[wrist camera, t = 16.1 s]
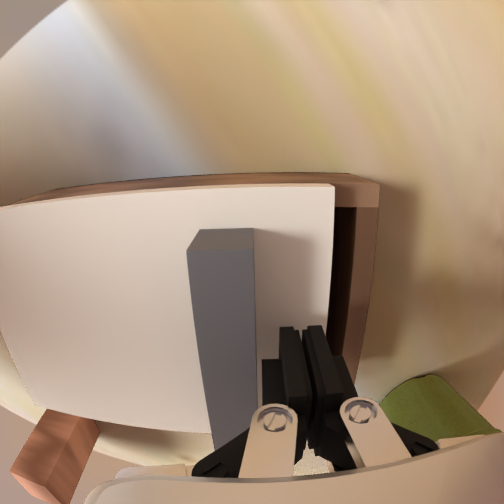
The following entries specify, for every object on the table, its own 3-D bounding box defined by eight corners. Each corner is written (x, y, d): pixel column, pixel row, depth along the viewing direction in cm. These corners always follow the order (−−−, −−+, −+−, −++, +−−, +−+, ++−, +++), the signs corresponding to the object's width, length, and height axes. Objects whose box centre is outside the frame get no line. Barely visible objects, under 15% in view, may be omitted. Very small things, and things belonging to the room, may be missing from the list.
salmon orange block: (68, 425, 25) (32, 495, 16) (53, 398, 24) (9, 471, 14) (100, 432, 25) (67, 509, 15) (86, 405, 24) (44, 486, 14)
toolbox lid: (41, 396, 17) (18, 428, 13) (-20, 210, 12) (-63, 227, 9) (310, 418, 16) (318, 465, 13) (328, 183, 12) (355, 198, 9)
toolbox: (94, 357, 22) (67, 399, 17) (56, 189, 17) (8, 204, 13) (332, 362, 21) (347, 411, 17) (347, 173, 17) (379, 184, 12)
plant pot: (486, 354, 22) (550, 434, 11) (423, 441, 25) (457, 522, 15) (388, 340, 21) (455, 460, 10) (326, 441, 25) (346, 547, 14)
